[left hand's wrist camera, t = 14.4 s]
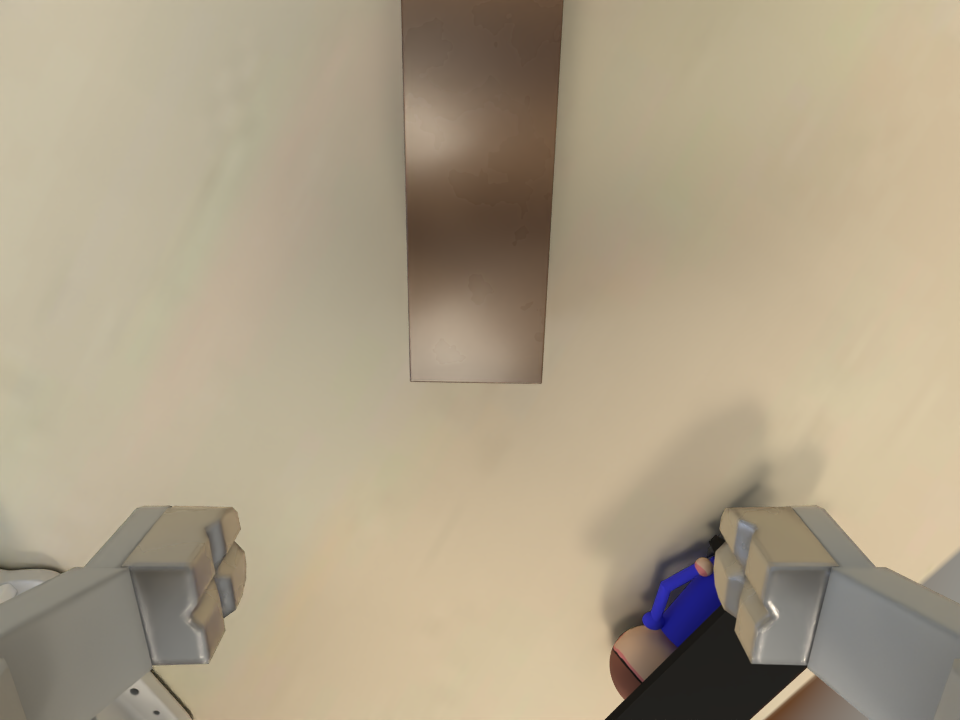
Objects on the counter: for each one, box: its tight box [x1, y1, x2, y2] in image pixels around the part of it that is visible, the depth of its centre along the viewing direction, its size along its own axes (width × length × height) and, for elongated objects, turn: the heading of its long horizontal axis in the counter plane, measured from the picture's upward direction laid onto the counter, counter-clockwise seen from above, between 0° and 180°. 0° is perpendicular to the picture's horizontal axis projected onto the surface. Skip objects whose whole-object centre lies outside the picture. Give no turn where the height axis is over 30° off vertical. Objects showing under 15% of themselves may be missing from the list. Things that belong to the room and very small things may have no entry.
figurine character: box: [605, 533, 808, 720], centre depth 37 cm, size 7×8×15 cm
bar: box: [401, 0, 563, 384], centre depth 26 cm, size 23×6×8 cm, turn 179°
